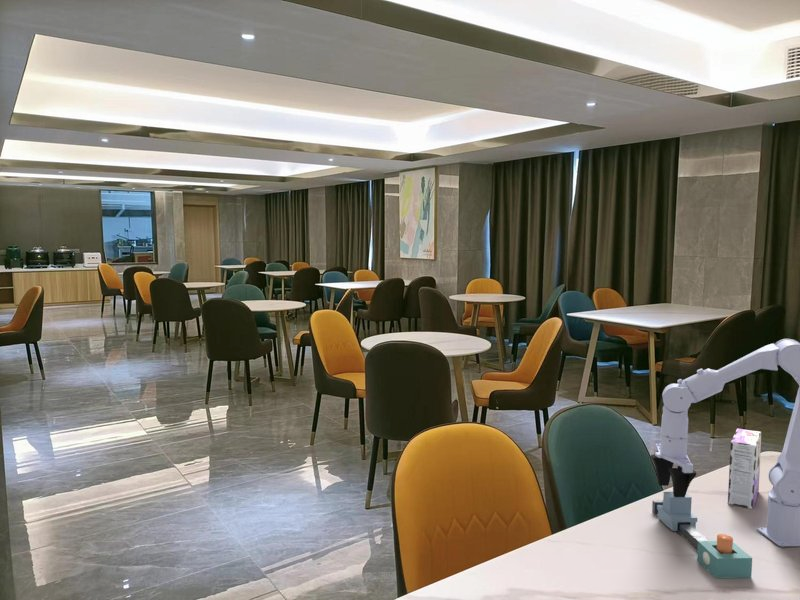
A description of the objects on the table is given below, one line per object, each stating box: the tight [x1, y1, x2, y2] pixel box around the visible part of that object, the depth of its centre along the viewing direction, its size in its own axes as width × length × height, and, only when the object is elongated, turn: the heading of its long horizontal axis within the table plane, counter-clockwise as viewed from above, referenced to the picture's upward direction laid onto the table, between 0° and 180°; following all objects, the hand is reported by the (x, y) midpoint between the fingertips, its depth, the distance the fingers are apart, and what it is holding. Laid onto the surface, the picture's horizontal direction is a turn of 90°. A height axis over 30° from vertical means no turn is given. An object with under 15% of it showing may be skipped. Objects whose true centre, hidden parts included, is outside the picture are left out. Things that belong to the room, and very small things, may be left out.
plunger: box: [716, 533, 734, 554], centre depth 121 cm, size 3×3×4 cm
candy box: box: [727, 428, 762, 510], centre depth 155 cm, size 14×6×16 cm, turn 144°
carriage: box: [657, 491, 698, 532], centre depth 140 cm, size 6×7×7 cm
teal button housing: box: [696, 540, 753, 579], centre depth 121 cm, size 7×7×4 cm
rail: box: [651, 499, 710, 551], centre depth 136 cm, size 5×21×3 cm, turn 2°
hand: (671, 491), depth 142 cm, fingers open, 7 cm apart
